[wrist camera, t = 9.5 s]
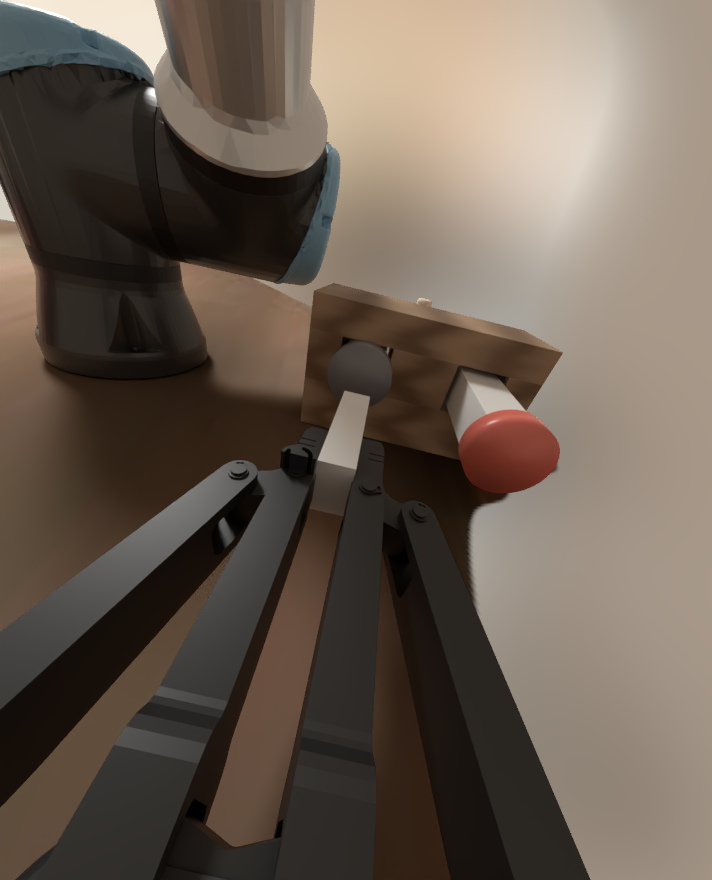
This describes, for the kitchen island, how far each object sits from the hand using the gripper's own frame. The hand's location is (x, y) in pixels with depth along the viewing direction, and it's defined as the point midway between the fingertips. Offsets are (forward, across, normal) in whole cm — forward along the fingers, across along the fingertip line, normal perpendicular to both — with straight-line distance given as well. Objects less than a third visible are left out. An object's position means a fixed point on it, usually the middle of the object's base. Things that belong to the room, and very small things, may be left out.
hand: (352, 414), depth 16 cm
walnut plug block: (+13, +5, -7) cm, 16 cm away
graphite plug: (+13, 0, -3) cm, 13 cm away
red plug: (+6, +10, -3) cm, 12 cm away
